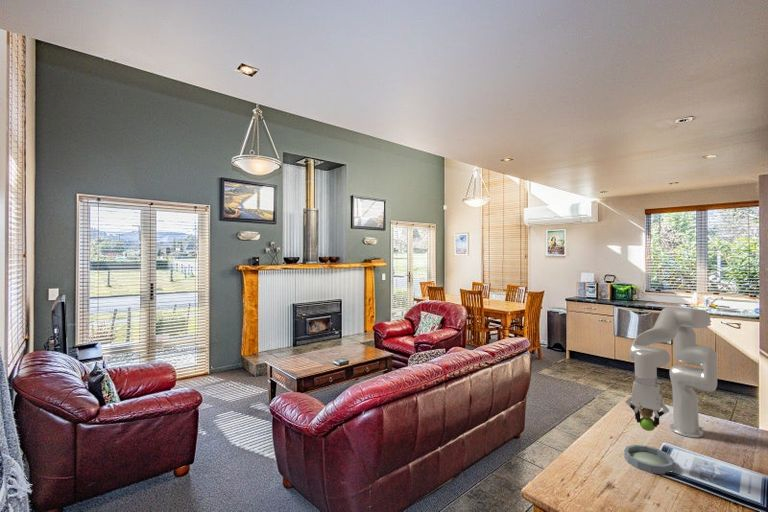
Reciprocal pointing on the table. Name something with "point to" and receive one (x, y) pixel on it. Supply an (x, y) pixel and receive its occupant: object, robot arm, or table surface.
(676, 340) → the robot arm
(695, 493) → the table surface
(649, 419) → the snail figurine
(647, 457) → the ring dish
